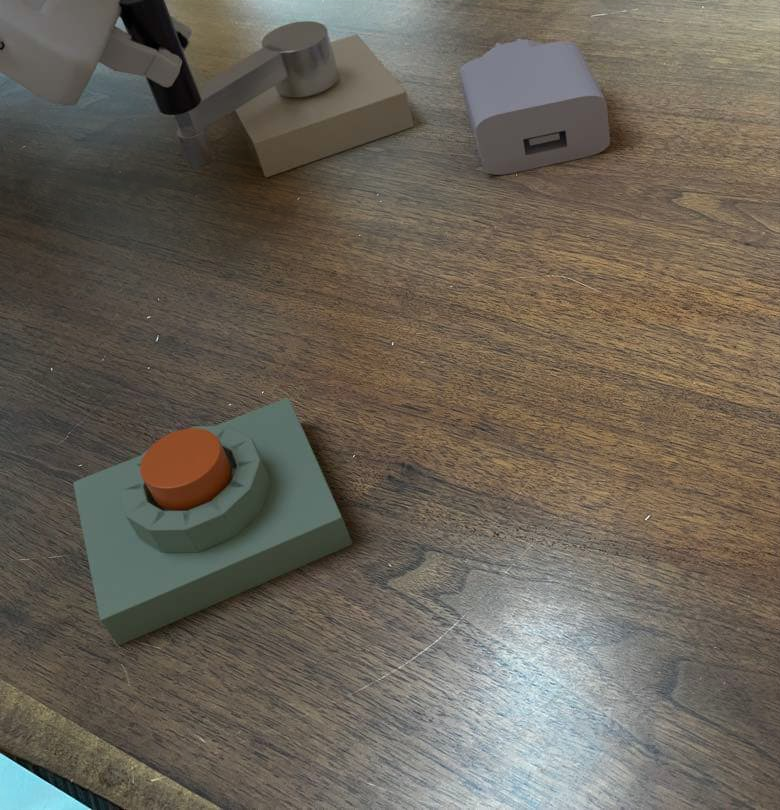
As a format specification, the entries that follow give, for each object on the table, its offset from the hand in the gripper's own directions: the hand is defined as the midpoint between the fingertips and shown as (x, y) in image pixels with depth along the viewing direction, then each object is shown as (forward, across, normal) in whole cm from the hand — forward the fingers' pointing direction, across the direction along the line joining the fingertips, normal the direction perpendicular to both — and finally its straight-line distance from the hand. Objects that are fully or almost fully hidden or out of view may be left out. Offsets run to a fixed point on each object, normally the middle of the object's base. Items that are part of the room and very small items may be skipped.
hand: (182, 59), depth 74 cm
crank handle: (+7, +4, +3) cm, 9 cm away
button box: (+10, -34, +5) cm, 35 cm away
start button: (+7, -33, +2) cm, 34 cm away
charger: (+23, +4, -9) cm, 25 cm away
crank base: (+12, +8, +3) cm, 14 cm away
